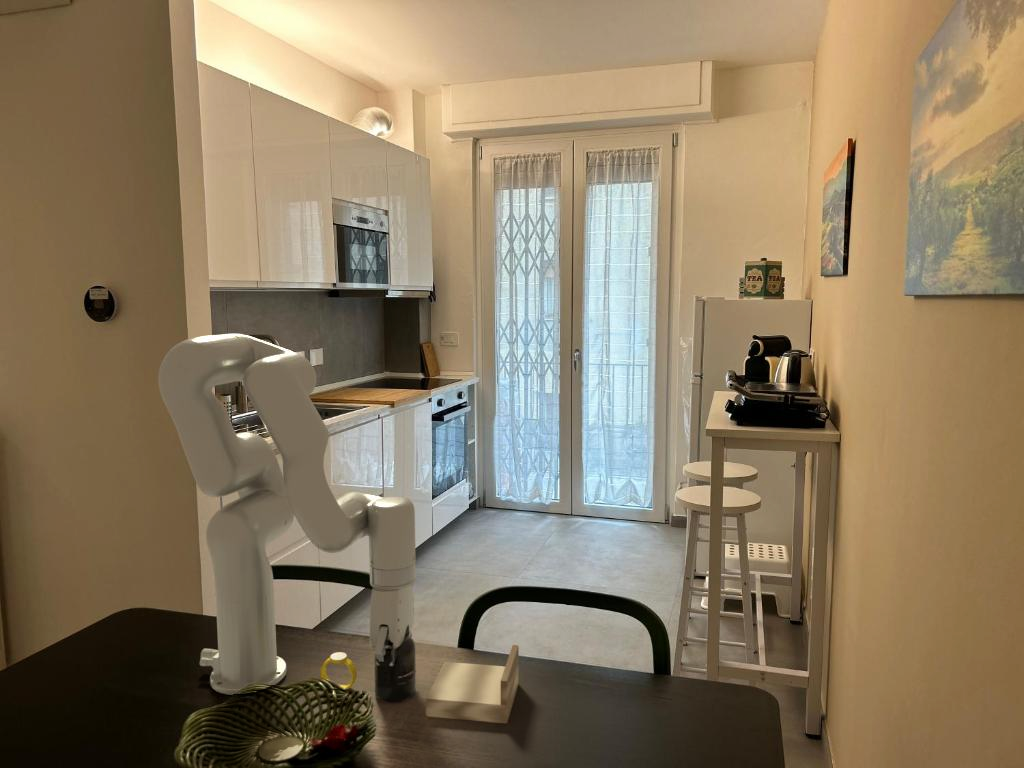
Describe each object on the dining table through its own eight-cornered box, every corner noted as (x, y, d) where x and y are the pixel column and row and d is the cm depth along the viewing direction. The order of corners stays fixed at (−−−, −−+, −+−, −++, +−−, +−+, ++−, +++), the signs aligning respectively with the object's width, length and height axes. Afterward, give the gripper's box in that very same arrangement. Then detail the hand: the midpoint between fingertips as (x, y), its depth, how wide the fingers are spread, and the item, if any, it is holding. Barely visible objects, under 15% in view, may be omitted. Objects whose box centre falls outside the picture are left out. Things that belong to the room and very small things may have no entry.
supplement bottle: (408, 706, 121) (406, 636, 120) (368, 701, 123) (366, 632, 121) (421, 684, 128) (420, 617, 127) (383, 680, 129) (382, 614, 128)
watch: (357, 687, 128) (359, 654, 127) (351, 696, 125) (352, 662, 124) (325, 681, 129) (326, 649, 128) (318, 689, 126) (319, 656, 126)
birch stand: (426, 716, 118) (425, 674, 118) (444, 678, 130) (444, 639, 129) (507, 723, 116) (506, 681, 116) (518, 684, 128) (518, 645, 127)
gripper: (388, 553, 132) (390, 648, 134) (351, 592, 115) (355, 700, 117) (429, 555, 131) (430, 651, 133) (398, 595, 114) (401, 704, 116)
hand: (395, 673), depth 125 cm, fingers open, 7 cm apart
